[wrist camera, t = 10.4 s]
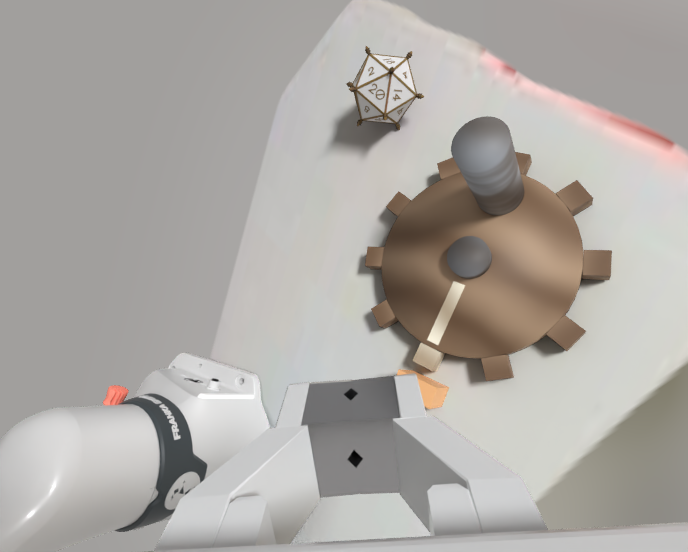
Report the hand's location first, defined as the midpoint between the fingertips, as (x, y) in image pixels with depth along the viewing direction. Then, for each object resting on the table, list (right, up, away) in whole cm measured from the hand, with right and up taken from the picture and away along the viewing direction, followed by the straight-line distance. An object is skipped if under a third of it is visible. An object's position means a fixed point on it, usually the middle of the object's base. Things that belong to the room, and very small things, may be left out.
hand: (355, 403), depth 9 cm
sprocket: (+13, +4, +31) cm, 34 cm away
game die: (+6, +24, +41) cm, 47 cm away
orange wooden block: (+8, -8, +31) cm, 33 cm away
